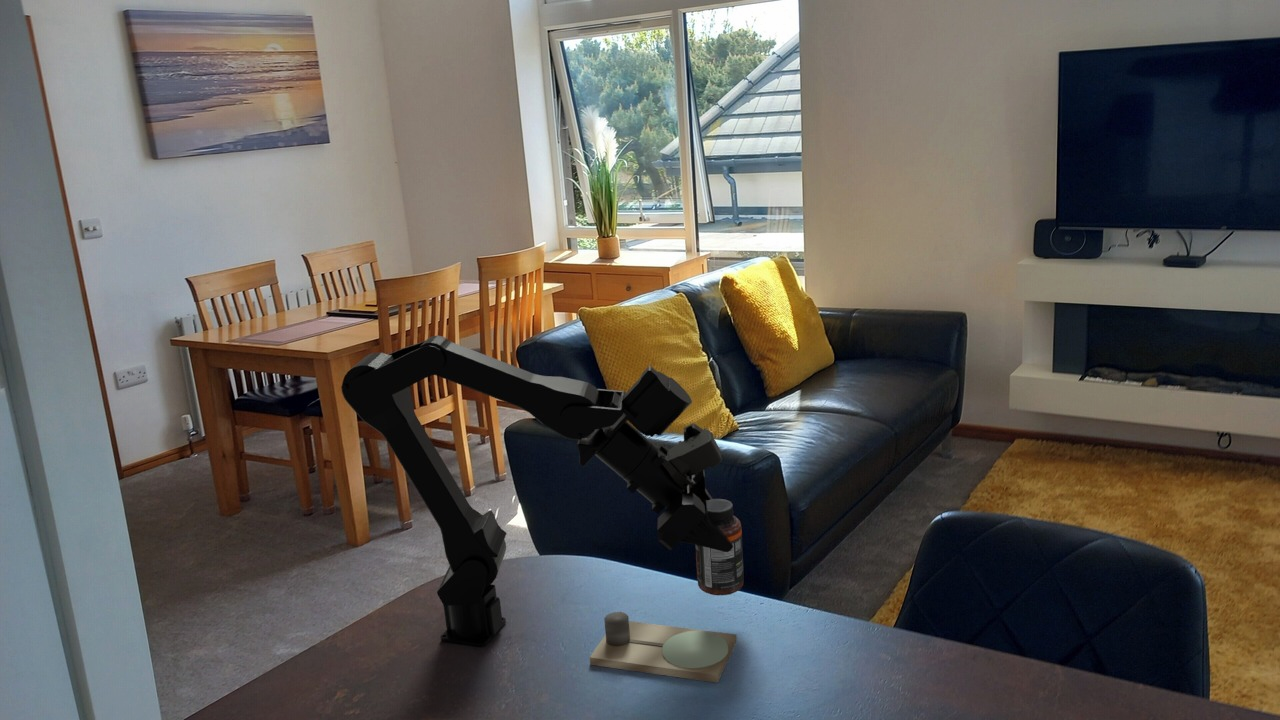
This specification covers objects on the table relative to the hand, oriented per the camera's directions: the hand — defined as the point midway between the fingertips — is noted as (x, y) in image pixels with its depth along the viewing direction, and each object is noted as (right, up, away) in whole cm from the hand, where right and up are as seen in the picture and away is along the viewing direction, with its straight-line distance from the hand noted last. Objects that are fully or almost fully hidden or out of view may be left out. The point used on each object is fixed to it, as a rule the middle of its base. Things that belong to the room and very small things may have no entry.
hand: (729, 538), depth 123 cm
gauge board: (-8, -14, -3) cm, 16 cm away
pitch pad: (-4, -14, -5) cm, 15 cm away
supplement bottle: (-1, -7, +2) cm, 7 cm away
